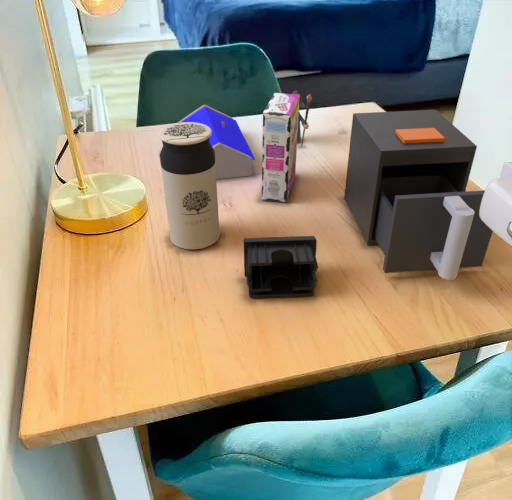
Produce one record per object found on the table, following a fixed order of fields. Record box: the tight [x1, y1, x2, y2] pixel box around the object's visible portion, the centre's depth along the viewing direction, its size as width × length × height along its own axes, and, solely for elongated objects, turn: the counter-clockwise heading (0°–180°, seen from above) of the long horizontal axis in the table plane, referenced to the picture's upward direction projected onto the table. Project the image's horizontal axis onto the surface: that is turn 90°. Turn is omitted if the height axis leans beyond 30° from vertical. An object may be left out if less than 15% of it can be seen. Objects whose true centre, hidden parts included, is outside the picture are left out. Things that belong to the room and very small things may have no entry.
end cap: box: [243, 235, 319, 299], centre depth 70 cm, size 10×7×7 cm
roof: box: [177, 104, 256, 180], centre depth 105 cm, size 22×14×7 cm, turn 12°
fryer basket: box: [373, 174, 494, 281], centre depth 73 cm, size 20×14×12 cm
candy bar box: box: [261, 92, 301, 203], centre depth 91 cm, size 11×5×16 cm, turn 168°
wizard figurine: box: [291, 89, 313, 147], centre depth 110 cm, size 8×6×12 cm
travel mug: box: [158, 122, 221, 250], centre depth 77 cm, size 8×8×18 cm
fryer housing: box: [343, 109, 478, 246], centre depth 82 cm, size 15×14×17 cm
